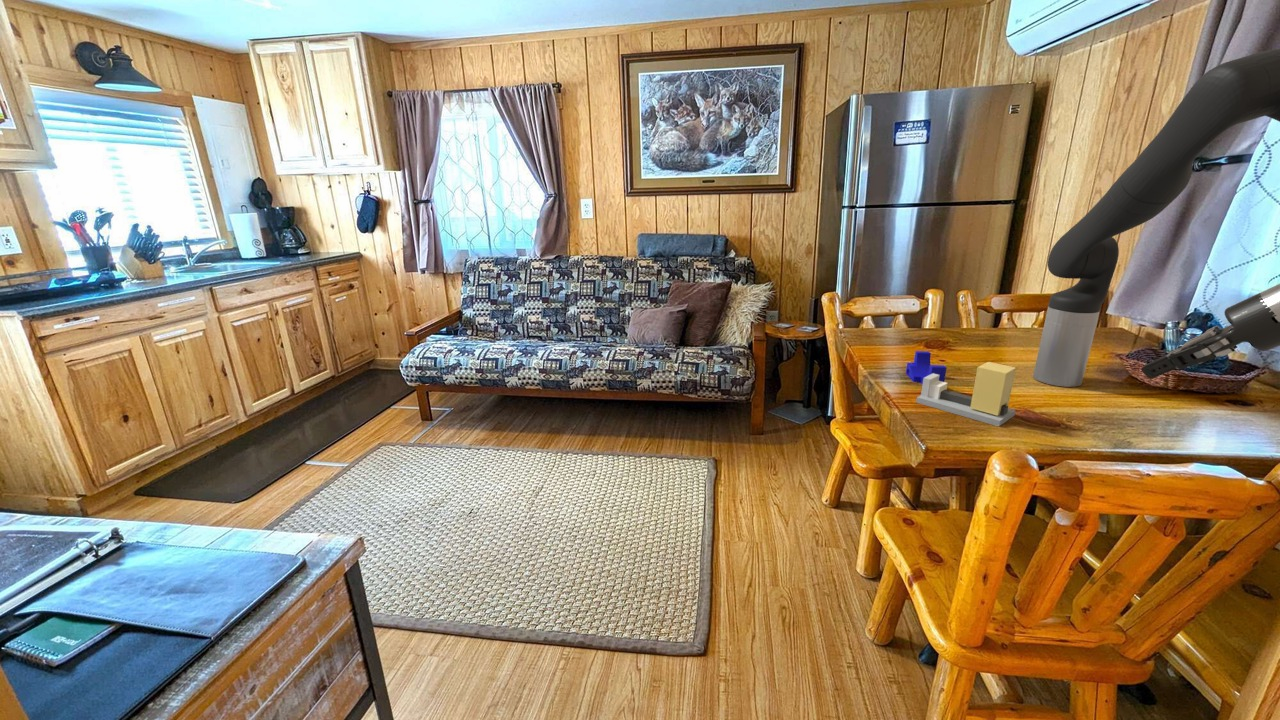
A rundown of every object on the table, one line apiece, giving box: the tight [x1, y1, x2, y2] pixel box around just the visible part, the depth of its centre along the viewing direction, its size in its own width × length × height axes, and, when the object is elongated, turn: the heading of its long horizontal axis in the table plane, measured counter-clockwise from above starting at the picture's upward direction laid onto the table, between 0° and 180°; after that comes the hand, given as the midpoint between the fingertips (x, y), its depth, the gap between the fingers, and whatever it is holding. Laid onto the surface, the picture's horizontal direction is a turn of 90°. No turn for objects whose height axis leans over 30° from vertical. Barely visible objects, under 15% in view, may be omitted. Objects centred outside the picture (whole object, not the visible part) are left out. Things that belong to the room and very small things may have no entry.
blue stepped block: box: [905, 350, 948, 385], centre depth 128 cm, size 12×4×6 cm, turn 170°
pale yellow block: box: [970, 361, 1017, 416], centre depth 108 cm, size 5×5×9 cm
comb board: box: [915, 373, 1016, 427], centre depth 113 cm, size 8×16×5 cm, turn 38°
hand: (1146, 372), depth 89 cm, fingers closed
